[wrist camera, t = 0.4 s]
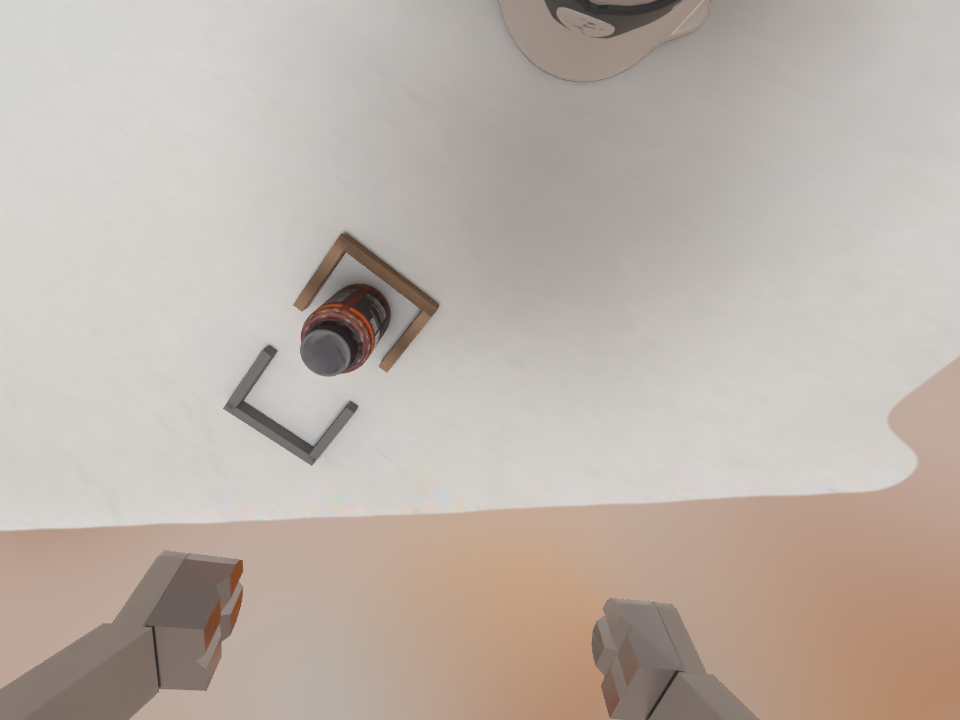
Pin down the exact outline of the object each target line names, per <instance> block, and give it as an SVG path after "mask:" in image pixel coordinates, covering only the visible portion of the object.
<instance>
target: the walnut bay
mask: <svg viewBox="0 0 960 720" xmlns="http://www.w3.org/2000/svg"><path fill="white" fill-rule="evenodd" d="M345 252H347V253H348V254H349V255H351V256H352V257H353V258H355V259H356V260H357V261H358V262H360V263H361V264H362V265H364V266H365V267H366V268H368V269H369V270H370V271H372V272H373V273H374V274H375V275H377V276H378V277H379V278H381V279H382V280H383V281H385V282H386V283H387V284H389V285H390V286H391V287H392V288H394V289H395V290H396V291H398V292H399V293H400V294H402V295H403V296H404V297H406V298H407V299H408V300H410V301H411V302H412V303H413V304H415V305H416V306H417V307H419V308H420V309H421V310H422V311H421V312H420V313H419V315H418V316H417V317H416V319H415V320H414V321H413V322H412V324H411V325H410V326H409V327H408V329H407V330H406V331H405V332H404V334H403V335H402V336H401V338H400V339H399V340H398V341H397V343H396V344H395V345H394V346H393V348H392V349H391V350H390V352H389V353H388V354H387V355H386V357H385V358H384V359H383V360H382V362H381V364H380V365H379V367H380V368H381V369H383V370H384V371H386V372H388V370H389V369H390V368H391V367H392V365H393V364H394V363H395V362H396V360H397V359H398V358H399V357H400V355H401V354H402V353H403V352H404V350H405V349H406V348H407V347H408V345H409V344H410V343H411V342H412V340H413V339H414V338H415V337H416V335H417V334H418V333H419V332H420V330H421V329H422V328H423V327H424V325H425V324H426V323H427V322H428V320H429V319H430V318H431V317H432V315H433V314H434V313H435V312H436V310H437V309H438V307H439V305H438V304H437V303H436V302H435V301H433V300H432V299H431V298H429V297H428V296H427V295H426V294H424V293H423V292H422V291H420V290H419V289H418V288H417V287H415V286H414V285H413V284H411V283H410V282H409V281H407V280H406V279H405V278H404V277H402V276H401V275H400V274H398V273H397V272H396V271H395V270H393V269H392V268H391V267H389V266H388V265H387V264H385V263H384V262H383V261H382V260H380V259H379V258H378V257H376V256H375V255H374V254H373V253H371V252H370V251H369V250H367V249H366V248H365V247H364V246H362V245H361V244H360V243H358V242H357V241H356V240H354V239H353V238H352V237H351V236H349V235H348V234H347V233H343V234H341V235H340V236H339V238H338V239H337V241H336V242H335V244H334V245H333V247H332V248H331V250H330V251H329V253H328V254H327V256H326V257H325V259H324V260H323V262H322V263H321V265H320V266H319V268H318V269H317V270H316V272H315V273H314V275H313V276H312V278H311V279H310V281H309V282H308V284H307V285H306V287H305V288H304V290H303V291H302V293H301V294H300V296H299V297H298V299H297V300H296V302H295V303H294V304H293V305H294V306H295V307H296V308H298V309H299V310H301V311H303V310H305V309H306V308H307V307H308V306H309V305H310V303H311V302H312V300H313V299H314V297H315V296H316V294H317V293H318V292H319V290H320V289H321V287H322V286H323V284H324V283H325V281H326V280H327V279H328V277H329V276H330V274H331V273H332V271H333V270H334V268H335V267H336V265H337V264H338V263H339V261H340V260H341V258H342V257H343V255H344V254H345Z"/></svg>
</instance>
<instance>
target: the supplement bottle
mask: <svg viewBox="0 0 960 720" xmlns="http://www.w3.org/2000/svg"><path fill="white" fill-rule="evenodd" d="M389 321H390V311H389V307H388V304H387V302H386V300H385V299H384V297H383V296H382V295H381V294H380V293H379V292H378V291H376V290H375V289H373V288H371V287H369V286H365V285H360V284H356V285H350V286H347V287H345V288H343V289H341V290H339V291H338V292H337V293H336V294H334V295H333V296H332V297H331V298H330V299H329V300H327V301H326V302H325V303H324V304H323V305H321V306H320V307H319V308H318V309H317V310H315V311H314V312H313V313H312V314H311V315H310V316H309V317H308V318H307V320H306V321H305V323H304V325H303V328H302V332H301V348H300V353H301V357H302V360H303V362H304V363H305V365H306V366H307V367H308V368H309V369H310V370H311V371H313V372H314V373H316V374H318V375H322V376H336V375H338V374H341V373H348V372H351V371H354V370H356V369H358V368H359V367H360V366H362V365H363V364H364V362H365V361H366V360H367V359H368V357H369V356H370V354H371V353H372V351H373V349H374V348H375V346H376V345H377V343H378V342H379V340H380V339H381V337H382V336H383V334H384V333H385V331H386V329H387V327H388V325H389Z"/></svg>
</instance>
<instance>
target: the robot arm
mask: <svg viewBox="0 0 960 720" xmlns="http://www.w3.org/2000/svg"><path fill="white" fill-rule="evenodd" d="M710 1H711V0H499V3H500V8H501V11H502V15H503V18H504V21H505V23H506V26H507V28H508V30H509V32H510V34H511V36H512V38H513V40H514V41H515V43H516V44H517V46H518V47H519V49H520V50H521V51H522V52H523V53H524V55H525V56H526V57H527V58H528V59H529V60H530V61H531V62H533V63H534V64H535V65H536V66H538V67H539V68H540V69H542V70H544V71H545V72H547V73H549V74H551V75H553V76H556V77H559V78H562V79H566V80H570V81H580V82H587V81H596V80H602V79H605V78H609V77H612V76H614V75H617V74H619V73H621V72H623V71H625V70H627V69H628V68H630V67H631V66H633V65H634V64H636V63H637V62H638V61H640V60H641V59H642V58H643V57H645V56H646V55H647V54H648V53H649V52H650V51H652V50H653V49H654V48H655V47H657V46H658V45H660V44H661V43H663V42H665V41H669V40H672V39H675V38H678V37H681V36H684V35H686V34H689V33H691V32H692V31H694V30H695V29H697V28H698V27H699V26H700V24H701V23H702V22H703V21H704V19H705V18H706V15H707V13H708V9H709V5H710ZM242 573H243V560H238V559H230V558H223V557H215V556H208V555H200V554H193V553H183V552H175V551H166V550H165V551H163V552H162V553H161V554H160V555H159V556H158V557H157V558H156V559H155V561H154V562H153V564H152V565H151V567H150V568H149V570H148V571H147V573H146V574H145V576H144V577H143V579H142V580H141V581H140V583H139V584H138V586H137V587H136V589H135V590H134V592H133V594H132V595H131V596H130V598H129V599H128V601H127V602H126V604H125V605H124V607H123V608H122V610H121V611H120V612H119V614H118V615H117V617H116V618H115V620H114V621H113V623H112V624H109V623H103V624H102V625H100V626H98V627H97V628H95V629H94V630H92V631H91V632H89V633H87V634H86V635H84V636H83V637H81V638H80V639H78V640H76V641H75V642H73V643H72V644H70V645H69V646H67V647H66V648H64V649H62V650H61V651H59V652H58V653H56V654H55V655H53V656H52V657H50V658H48V659H47V660H45V661H44V662H42V663H41V664H39V665H38V666H36V667H34V668H33V669H31V670H30V671H28V672H26V673H25V674H23V675H22V676H20V677H19V678H17V679H16V680H14V681H12V682H11V683H9V684H8V685H6V686H5V687H3V688H1V689H0V720H129V719H130V718H131V717H132V716H133V715H134V714H135V713H137V711H139V710H140V709H141V708H142V707H143V706H144V705H145V704H146V703H147V702H149V701H150V700H151V699H152V698H153V697H154V696H155V695H156V694H157V693H158V692H159V689H179V690H204V691H206V690H207V688H208V686H209V684H210V682H211V679H212V677H213V675H214V672H215V670H216V668H217V665H218V663H219V661H220V659H221V642H222V641H223V640H224V639H226V638H227V637H228V636H230V635H231V633H232V630H233V628H234V626H235V623H236V621H237V617H238V614H239V610H240V607H241V602H242V596H243V586H242V585H241V584H240V583H239V579H240V577H241V575H242ZM603 610H604V613H605V616H604V617H602V618H601V619H599V620H598V621H597V622H596V624H595V627H594V629H593V634H592V652H593V657H594V661H595V665H596V666H597V668H598V669H599V670H600V671H601V672H602V673H603V674H604V676H605V677H604V680H603V682H602V685H601V687H602V691H603V695H604V699H605V703H606V706H607V710H608V714H609V717H610V718H613V719H622V720H759V719H758V718H757V717H756V716H755V715H754V714H753V713H752V712H751V711H750V710H749V709H748V708H747V707H746V706H745V705H744V704H743V703H742V702H741V701H740V700H739V699H738V698H737V697H736V696H735V695H733V693H732V692H730V691H729V690H728V689H727V688H726V687H725V686H724V685H723V684H722V683H721V682H720V681H719V680H718V679H717V678H716V677H715V676H714V675H711V674H707V673H706V671H705V668H704V666H703V664H702V662H701V660H700V658H699V656H698V653H697V651H696V649H695V647H694V645H693V643H692V641H691V638H690V636H689V634H688V632H687V630H686V628H685V626H684V623H683V621H682V619H681V617H680V615H679V613H678V611H677V609H676V608H675V607H674V606H673V605H672V604H666V603H656V602H649V601H640V600H629V599H618V598H610V599H609V600H607V601H606V603H605V605H604V607H603Z"/></svg>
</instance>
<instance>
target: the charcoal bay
mask: <svg viewBox="0 0 960 720" xmlns="http://www.w3.org/2000/svg"><path fill="white" fill-rule="evenodd" d="M276 352H277V350H276V349H274V348H273V347H271V346H270V345H269V346H267V347H266V348H265V349H263V350H262V352H261V353H260V355H259V356H258V358H257V359H256V361H255V362H254V364H253V365H252V367H251V368H250V370H249V371H248V373H247V374H246V375H245V377H244V378H243V380H242V381H241V383H240V384H239V386H238V387H237V389H236V390H235V392H234V393H233V395H232V396H231V398H230V399H229V401H228V402H227V404H226V405H225V407H224V408H223V409H225V410H226V411H228V412H229V413H231V414H232V415H234V416H236V417H237V418H239V419H240V420H242V421H243V422H245V423H246V424H248V425H249V426H251V427H253V428H254V429H256V430H257V431H259V432H260V433H262V434H263V435H265V436H267V437H268V438H270V439H271V440H273V441H274V442H276V443H277V444H279V445H280V446H282V447H284V448H285V449H287V450H288V451H290V452H291V453H293V454H294V455H296V456H298V457H299V458H301V459H302V460H304V461H305V462H307V463H308V464H310V465H311V466H312V465H313V464H314V463H315V461H316V460H317V459H318V458H319V456H320V455H321V454H322V453H323V451H324V450H325V449H326V448H327V446H328V445H329V444H330V443H331V441H332V440H333V439H334V438H335V436H336V435H337V434H338V433H339V432H340V430H341V429H342V428H343V427H344V425H345V424H346V423H347V422H348V420H349V419H350V418H351V417H352V415H353V414H354V413H355V411H356V409H357V408H358V406H357V405H355V404H354V403H352V402H351V401H350V402H349V403H348V405H347V406H346V407H345V409H344V410H343V411H342V412H341V414H340V415H339V416H338V417H337V419H336V420H335V421H334V422H333V424H332V425H331V426H330V428H329V429H328V430H327V431H326V433H325V434H324V435H323V436H322V438H321V439H320V440H319V442H318V443H317V444H316V445H315V447H312V446H311V445H309V444H308V443H306V442H305V441H303V440H302V439H300V438H299V437H297V436H296V435H294V434H293V433H291V432H289V431H288V430H286V429H285V428H283V427H282V426H280V425H279V424H277V423H276V422H274V421H273V420H271V419H270V418H268V417H267V416H265V415H264V414H262V413H260V412H259V411H257V410H256V409H254V408H253V407H251V406H250V405H248V404H247V403H245V402H244V401H243V400H244V399H245V397H246V396H247V394H248V393H249V392H250V390H251V389H252V387H253V386H254V384H255V383H256V381H257V380H258V379H259V377H260V376H261V374H262V373H263V371H264V370H265V368H266V367H267V365H268V364H269V363H270V361H271V360H272V358H273V357H274V355H275V354H276Z"/></svg>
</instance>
